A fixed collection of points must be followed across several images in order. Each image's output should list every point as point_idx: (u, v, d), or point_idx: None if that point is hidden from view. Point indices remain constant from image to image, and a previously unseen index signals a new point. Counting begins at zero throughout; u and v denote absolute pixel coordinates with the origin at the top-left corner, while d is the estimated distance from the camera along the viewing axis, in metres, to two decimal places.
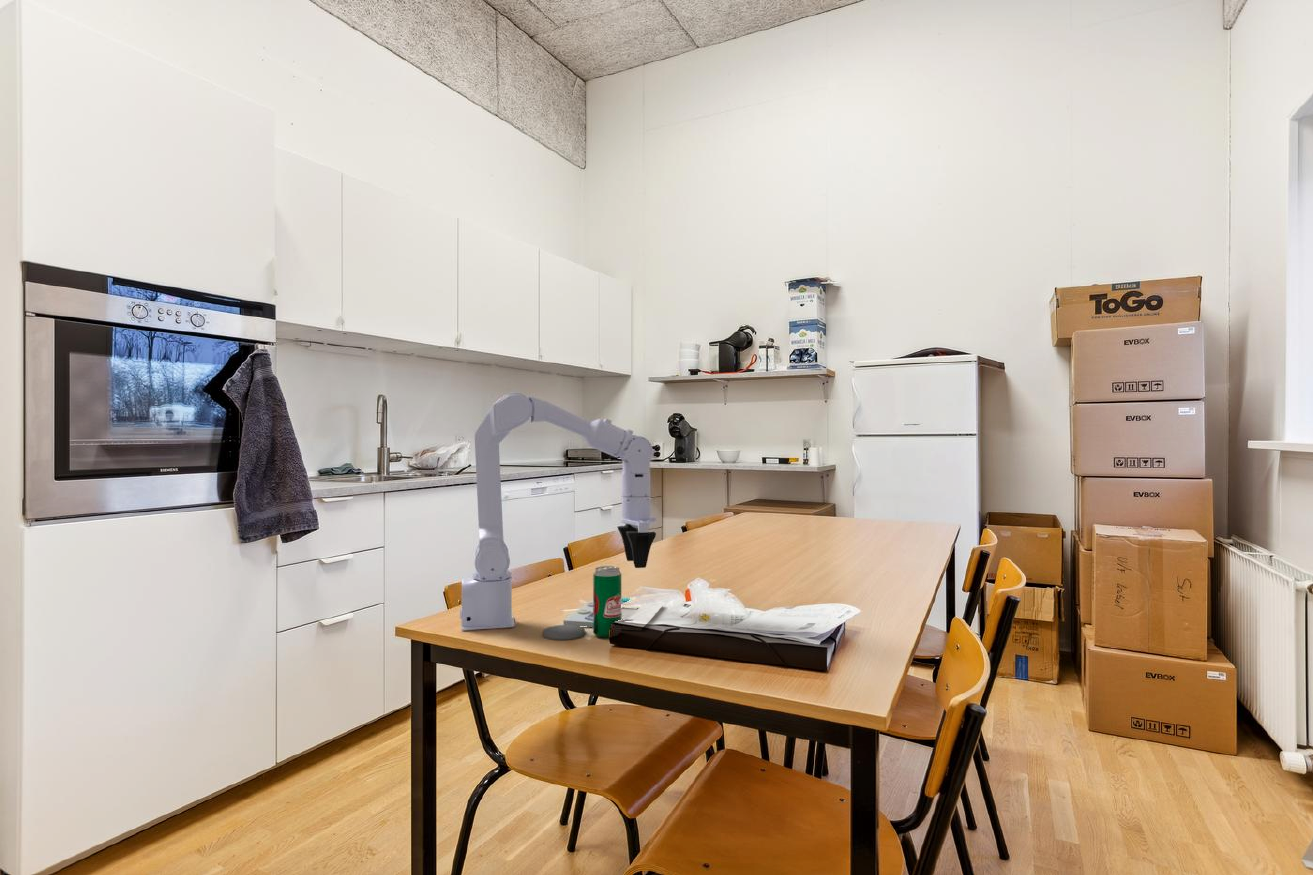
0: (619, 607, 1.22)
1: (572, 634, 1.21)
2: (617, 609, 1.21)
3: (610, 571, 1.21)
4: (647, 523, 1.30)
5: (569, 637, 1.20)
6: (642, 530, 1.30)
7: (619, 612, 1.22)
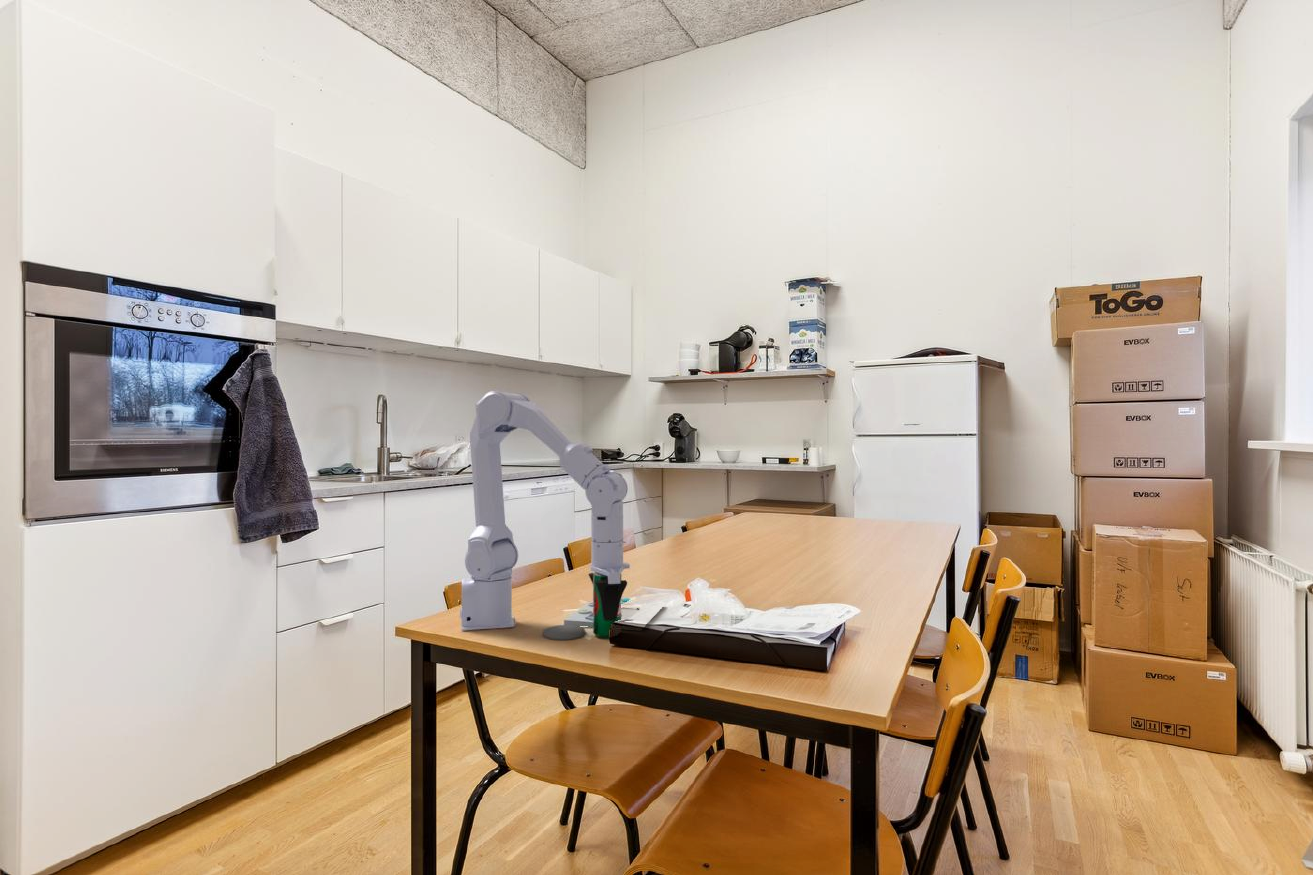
0: (619, 607, 1.22)
1: (572, 634, 1.21)
2: None
3: None
4: (618, 573, 1.16)
5: (569, 637, 1.20)
6: (612, 581, 1.16)
7: (619, 612, 1.22)
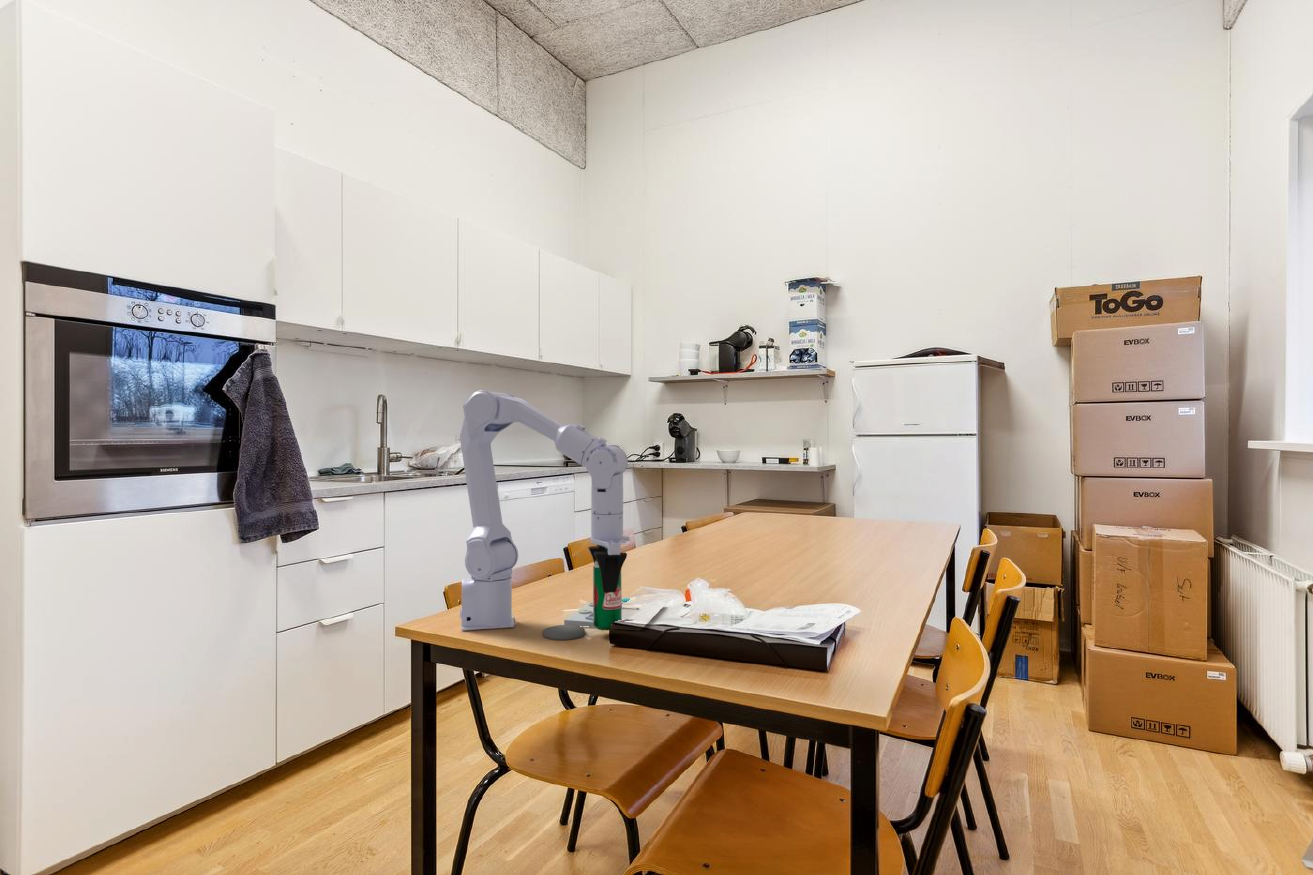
0: (619, 599, 1.22)
1: (572, 634, 1.21)
2: (616, 601, 1.21)
3: None
4: (618, 544, 1.16)
5: (569, 637, 1.20)
6: (612, 552, 1.16)
7: (619, 604, 1.22)
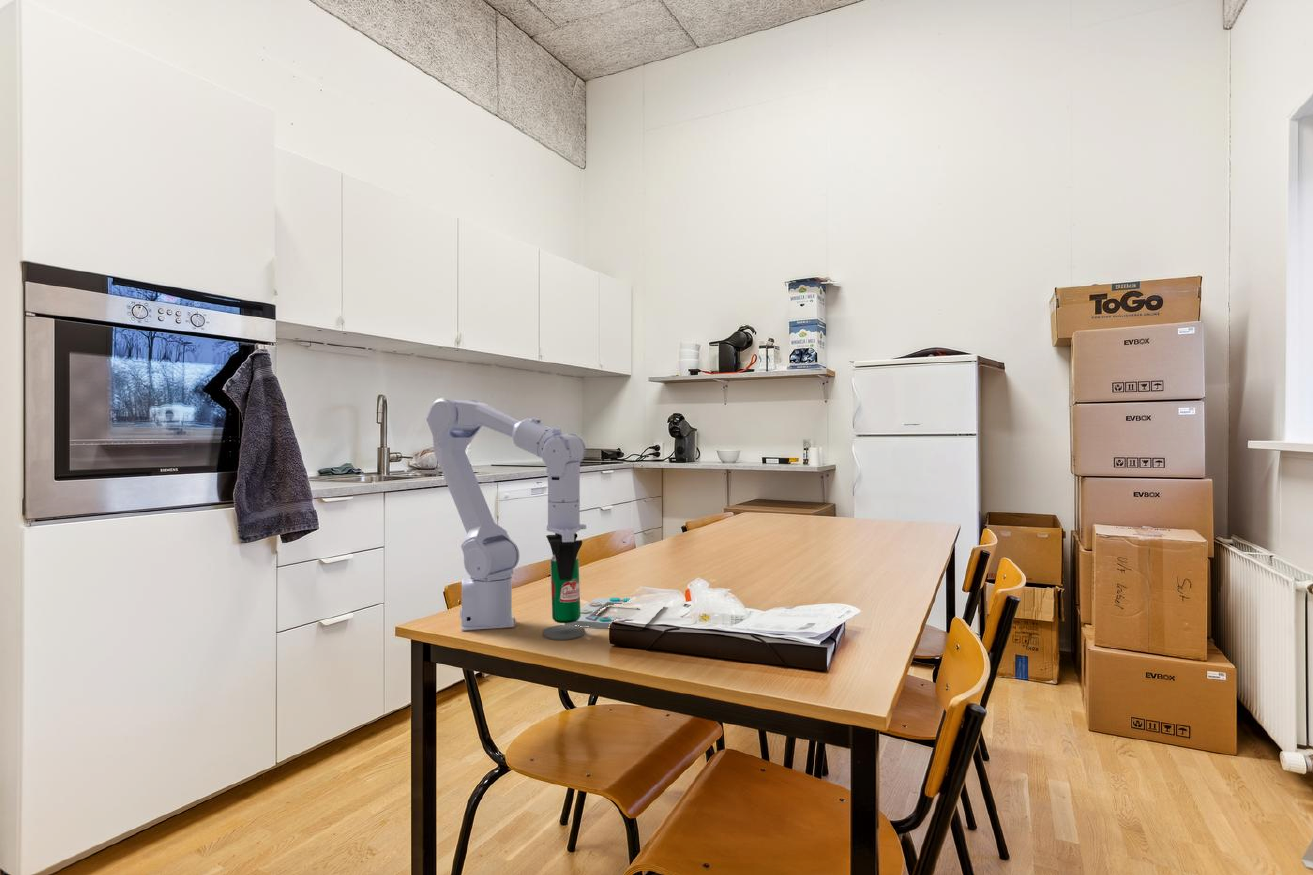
0: (576, 592, 1.22)
1: (572, 634, 1.21)
2: (574, 594, 1.22)
3: None
4: (572, 532, 1.17)
5: (569, 637, 1.20)
6: (566, 539, 1.17)
7: (576, 597, 1.22)
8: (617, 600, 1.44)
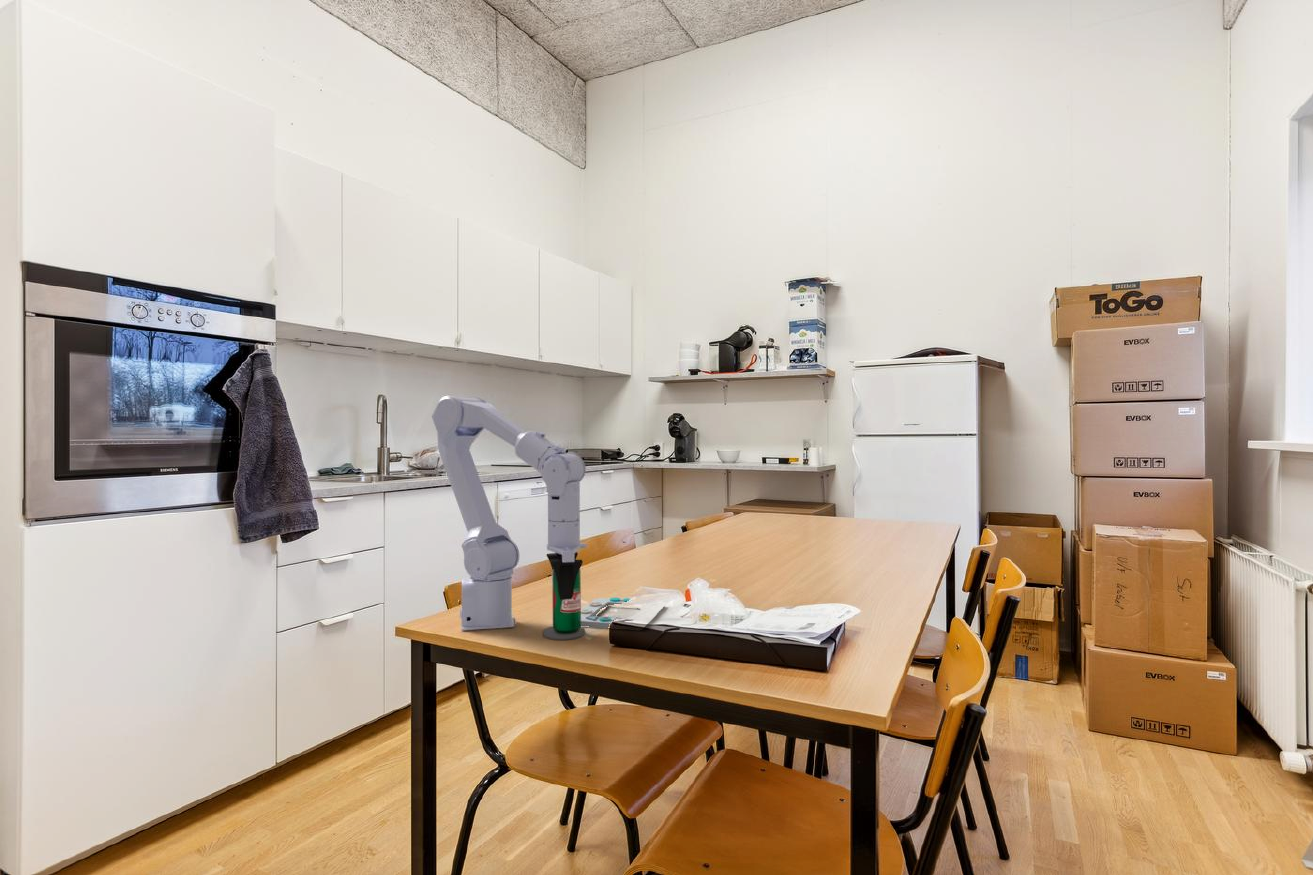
0: (577, 602, 1.22)
1: (572, 634, 1.21)
2: (575, 604, 1.22)
3: None
4: (572, 552, 1.17)
5: (569, 637, 1.20)
6: (566, 559, 1.17)
7: (577, 607, 1.22)
8: (617, 600, 1.44)
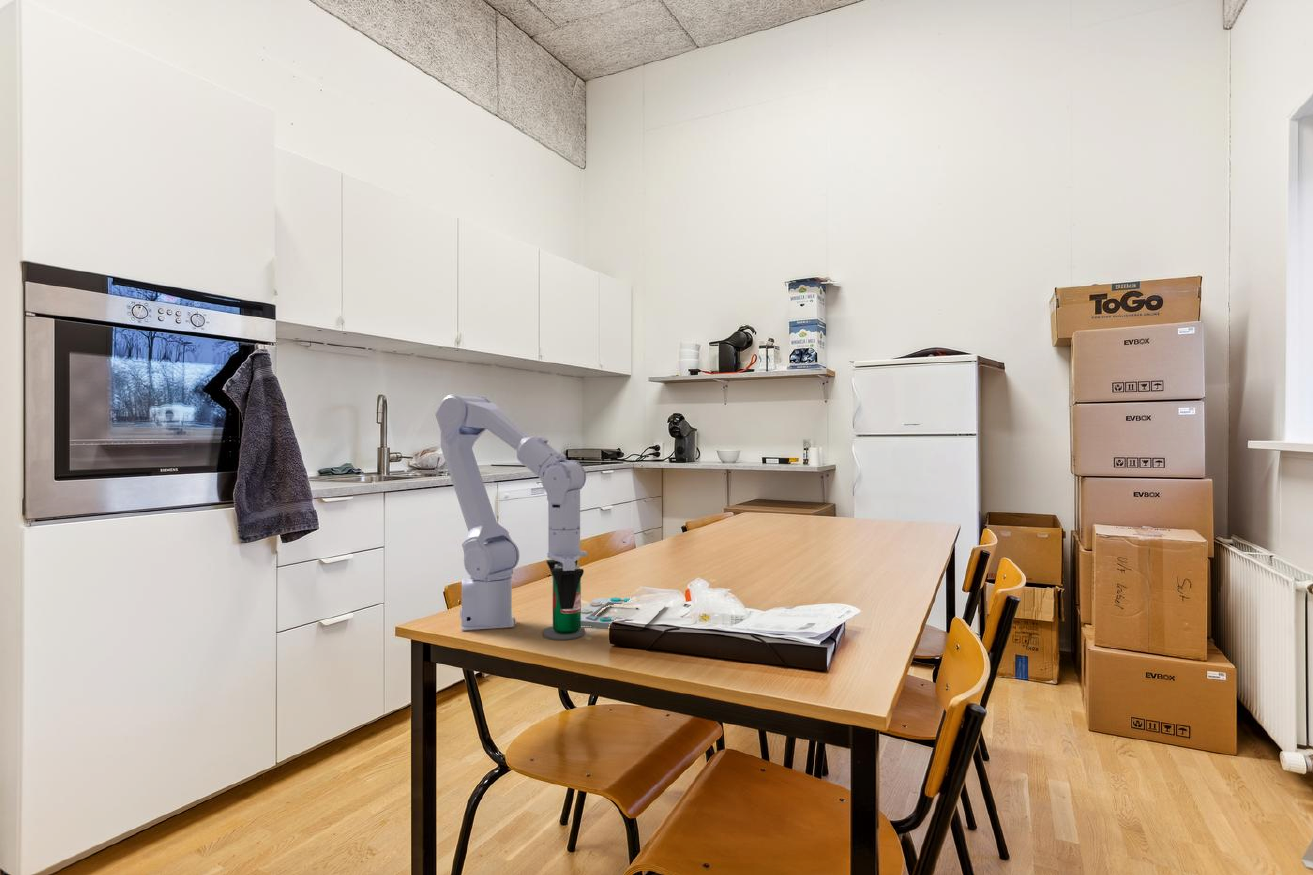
0: (577, 603, 1.22)
1: (572, 634, 1.21)
2: (575, 605, 1.22)
3: None
4: (572, 560, 1.17)
5: (569, 637, 1.20)
6: (566, 568, 1.17)
7: (577, 608, 1.22)
8: (618, 600, 1.44)
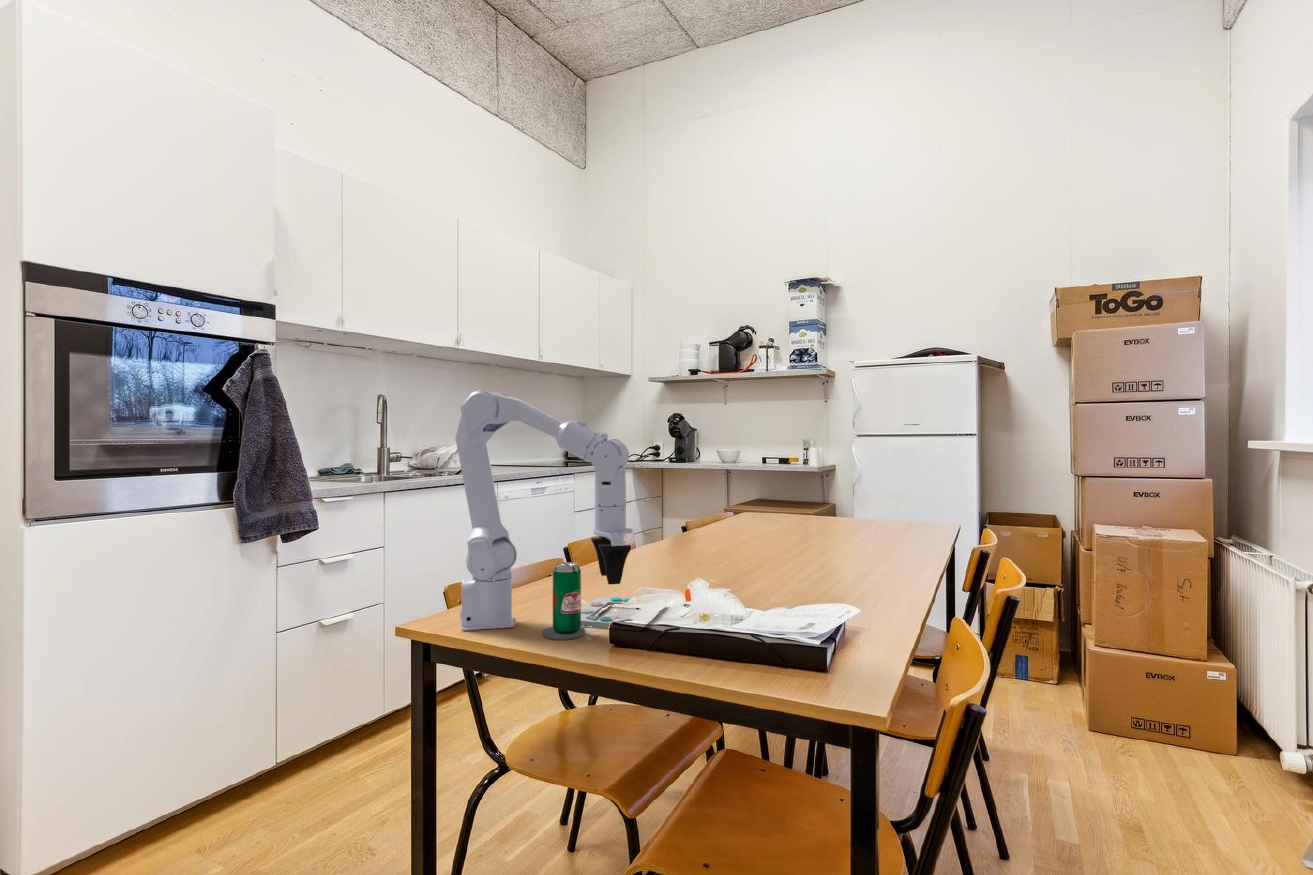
0: (577, 603, 1.22)
1: (572, 634, 1.21)
2: (575, 605, 1.22)
3: (568, 567, 1.22)
4: (621, 535, 1.19)
5: (569, 637, 1.20)
6: (615, 543, 1.19)
7: (577, 608, 1.22)
8: (618, 600, 1.44)
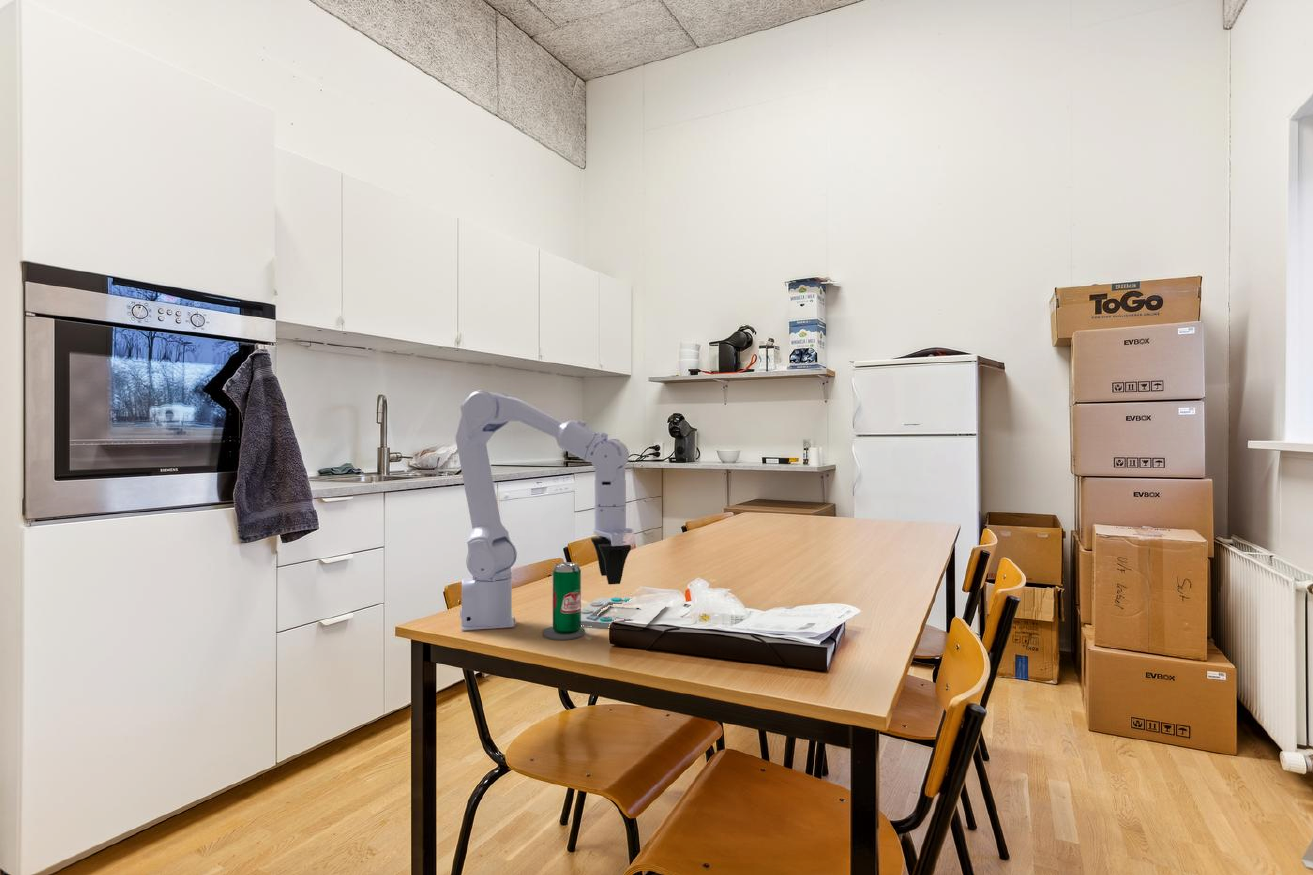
0: (577, 603, 1.22)
1: (572, 634, 1.21)
2: (575, 605, 1.22)
3: (568, 567, 1.22)
4: (621, 535, 1.19)
5: (569, 637, 1.20)
6: (615, 543, 1.19)
7: (577, 608, 1.22)
8: (619, 600, 1.44)
